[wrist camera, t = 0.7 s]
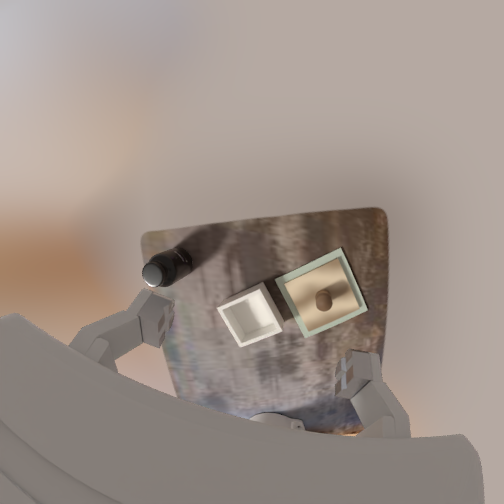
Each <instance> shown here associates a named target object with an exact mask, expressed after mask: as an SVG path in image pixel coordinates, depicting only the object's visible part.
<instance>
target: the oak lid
mask: <svg viewBox="0 0 504 504" xmlns="http://www.w3.org/2000/svg"><path fill="white" fill-rule="evenodd" d="M284 285H285V287H286V289H287V291H288V292H289V294H290V296H291V298H292V300H293V302H294V304H295V306H296V308H297V310H298V312H299V314H300V316H301V318H302V320H303V322H304V324H305V326H306V328H307V330H308V332H309V331H312V330H314V329H316V328H319V327H321V326H323V325H326V324H328V323H330V322H332V321H335V320H337V319H339V318H341V317H343V316H346V315H348V314H350V313H352V312H354V311H356V310H358V309H360V308H359V305H358V303H357V301H356V298H355V296H354V294H353V291H352V289H351V287H350V284H349V282H348V280H347V278H346V275H345V273H344V271H343V269H342V267H341V264H340V262H339V260H338V258H335V259H333V260H331V261H329V262H327V263H325V264H323V265H321V266H319V267H317V268H315V269H313V270H311V271H309V272H307V273H304V274H302V275H300V276H298V277H296V278H294V279H292V280H290V281H287V282H285V283H284Z"/></svg>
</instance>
